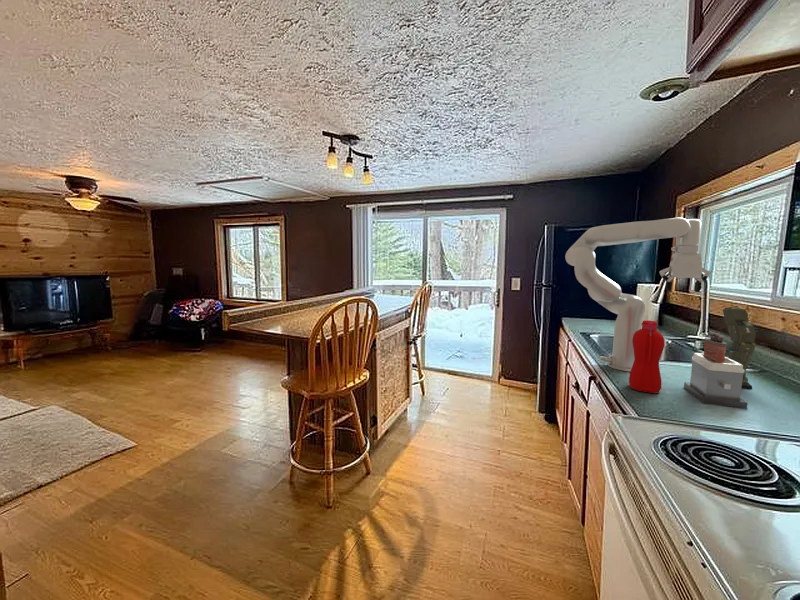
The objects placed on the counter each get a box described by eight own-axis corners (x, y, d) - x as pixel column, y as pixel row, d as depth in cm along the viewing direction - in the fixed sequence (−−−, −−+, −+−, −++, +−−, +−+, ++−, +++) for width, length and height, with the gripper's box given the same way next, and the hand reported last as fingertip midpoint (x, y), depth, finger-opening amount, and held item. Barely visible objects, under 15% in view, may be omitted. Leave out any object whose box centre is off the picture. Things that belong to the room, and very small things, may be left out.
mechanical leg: (764, 390, 125) (758, 305, 129) (740, 389, 127) (735, 305, 130) (736, 386, 139) (731, 309, 142) (714, 385, 140) (710, 309, 144)
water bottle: (630, 392, 125) (636, 322, 123) (627, 383, 135) (632, 318, 132) (662, 397, 121) (669, 325, 118) (657, 387, 131) (663, 320, 128)
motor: (704, 403, 116) (708, 363, 114) (683, 387, 131) (687, 351, 129) (747, 408, 112) (752, 367, 111) (721, 391, 127) (725, 354, 126)
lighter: (727, 366, 116) (731, 336, 115) (716, 365, 117) (719, 335, 116) (710, 359, 124) (713, 331, 123) (699, 358, 125) (702, 330, 124)
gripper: (664, 250, 146) (661, 291, 148) (717, 249, 140) (712, 293, 142) (658, 250, 153) (655, 290, 155) (708, 250, 147) (703, 291, 149)
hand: (682, 291), depth 149 cm, fingers open, 9 cm apart
